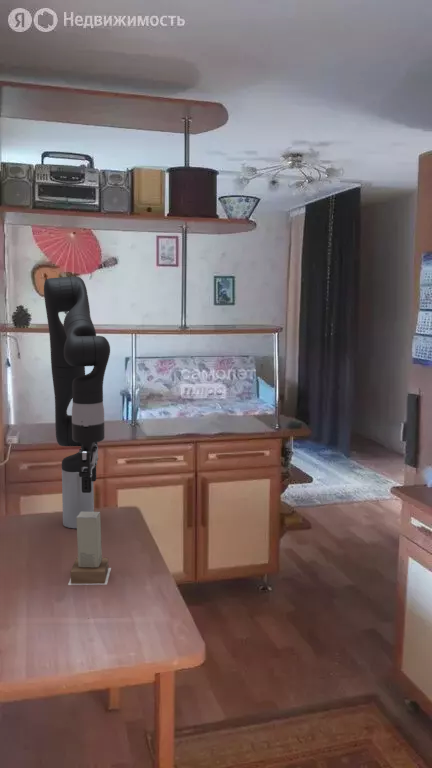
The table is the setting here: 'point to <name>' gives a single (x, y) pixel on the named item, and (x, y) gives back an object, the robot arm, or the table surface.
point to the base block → (89, 573)
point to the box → (89, 539)
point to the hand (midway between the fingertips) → (89, 486)
